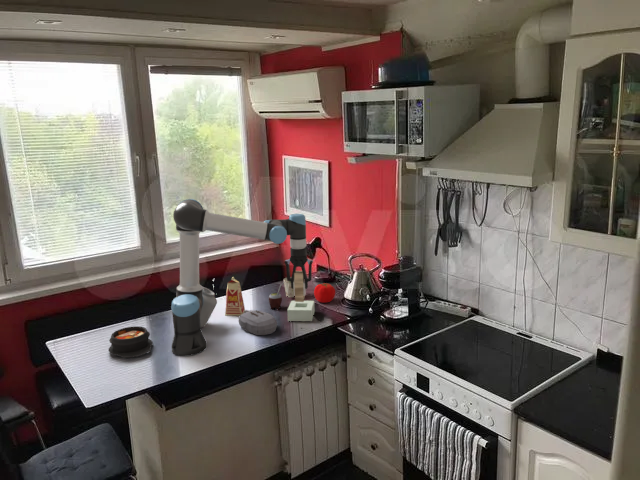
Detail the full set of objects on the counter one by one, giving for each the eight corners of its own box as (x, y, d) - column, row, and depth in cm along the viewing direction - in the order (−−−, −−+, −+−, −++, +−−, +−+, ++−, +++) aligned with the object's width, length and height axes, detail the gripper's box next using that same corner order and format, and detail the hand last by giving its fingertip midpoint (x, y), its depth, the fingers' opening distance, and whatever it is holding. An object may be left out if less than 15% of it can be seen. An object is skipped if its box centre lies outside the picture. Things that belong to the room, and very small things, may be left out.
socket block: (311, 321, 256) (311, 310, 254) (287, 321, 257) (287, 310, 256) (314, 311, 269) (314, 300, 268) (291, 311, 270) (291, 300, 269)
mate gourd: (266, 307, 277) (265, 281, 274) (279, 304, 281) (278, 278, 278) (273, 311, 271) (272, 284, 268) (286, 308, 275) (285, 281, 272)
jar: (175, 320, 239) (208, 276, 241) (165, 306, 250) (197, 265, 252) (204, 336, 251) (236, 294, 253) (193, 322, 262) (224, 282, 264)
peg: (303, 301, 243) (302, 273, 240) (295, 301, 243) (294, 273, 240) (304, 299, 247) (303, 270, 244) (296, 298, 247) (295, 270, 244)
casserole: (102, 346, 234) (100, 329, 232) (143, 336, 245) (142, 319, 243) (117, 366, 214) (114, 347, 212) (161, 353, 225) (159, 335, 223)
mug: (299, 293, 299) (299, 277, 297) (296, 300, 287) (295, 283, 284) (285, 293, 300) (284, 277, 297) (281, 300, 288) (281, 283, 285)
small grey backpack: (234, 328, 251) (258, 339, 236) (233, 312, 249) (257, 322, 235) (260, 319, 261) (284, 330, 246) (259, 304, 259) (283, 314, 244)
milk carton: (242, 315, 267) (239, 278, 263) (224, 315, 267) (221, 279, 263) (245, 309, 276) (242, 273, 271) (228, 309, 276) (225, 273, 272)
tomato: (311, 304, 281) (310, 286, 279) (317, 297, 291) (317, 279, 289) (332, 305, 277) (332, 287, 275) (338, 298, 288) (337, 281, 286)
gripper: (317, 245, 242) (318, 292, 247) (281, 245, 244) (283, 292, 249) (315, 249, 235) (316, 297, 240) (278, 249, 237) (280, 297, 242)
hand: (299, 294), depth 245 cm, fingers closed on peg, 4 cm apart
